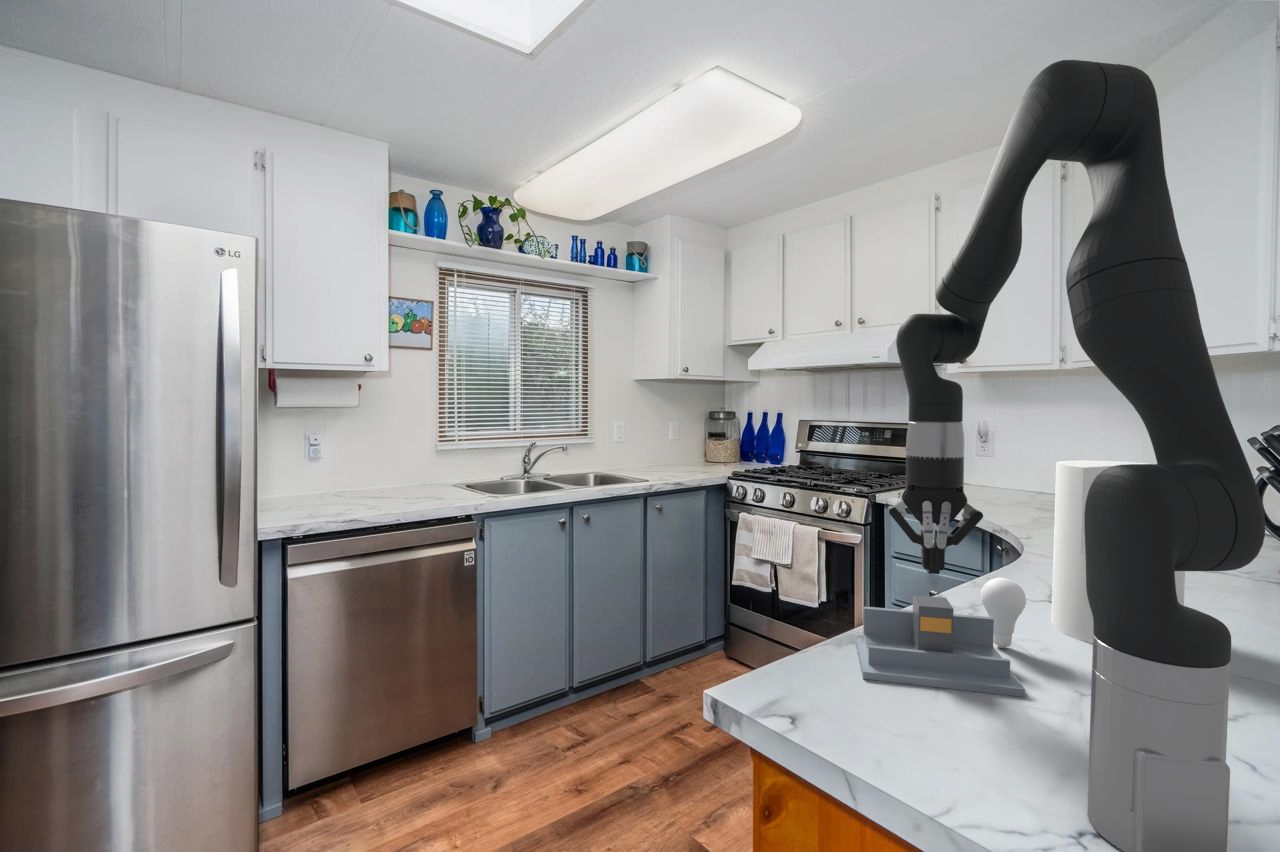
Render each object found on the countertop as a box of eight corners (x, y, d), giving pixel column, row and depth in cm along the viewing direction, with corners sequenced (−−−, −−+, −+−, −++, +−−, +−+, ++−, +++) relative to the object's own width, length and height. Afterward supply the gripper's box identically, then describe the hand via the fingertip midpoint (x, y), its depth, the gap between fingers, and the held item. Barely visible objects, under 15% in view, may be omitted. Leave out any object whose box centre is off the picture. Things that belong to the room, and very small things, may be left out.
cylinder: (1027, 621, 108) (1032, 462, 106) (1094, 609, 114) (1099, 459, 113) (1136, 660, 92) (1143, 473, 90) (1207, 644, 98) (1215, 469, 96)
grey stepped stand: (1024, 696, 80) (1026, 648, 80) (863, 678, 86) (863, 632, 85) (997, 659, 92) (998, 616, 92) (856, 645, 97) (856, 604, 97)
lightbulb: (1031, 657, 93) (1033, 585, 92) (987, 654, 94) (989, 583, 93) (1015, 641, 99) (1017, 574, 98) (974, 638, 100) (975, 571, 99)
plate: (1008, 676, 84) (1008, 665, 84) (868, 662, 89) (868, 651, 89) (992, 656, 91) (993, 646, 91) (863, 643, 95) (863, 634, 95)
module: (952, 658, 86) (953, 609, 86) (918, 654, 88) (918, 606, 87) (944, 644, 91) (945, 597, 91) (912, 640, 93) (913, 595, 92)
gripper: (888, 454, 87) (887, 576, 87) (993, 456, 83) (991, 583, 84) (882, 450, 94) (880, 563, 94) (978, 452, 90) (976, 569, 91)
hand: (932, 572), depth 89 cm, fingers closed
